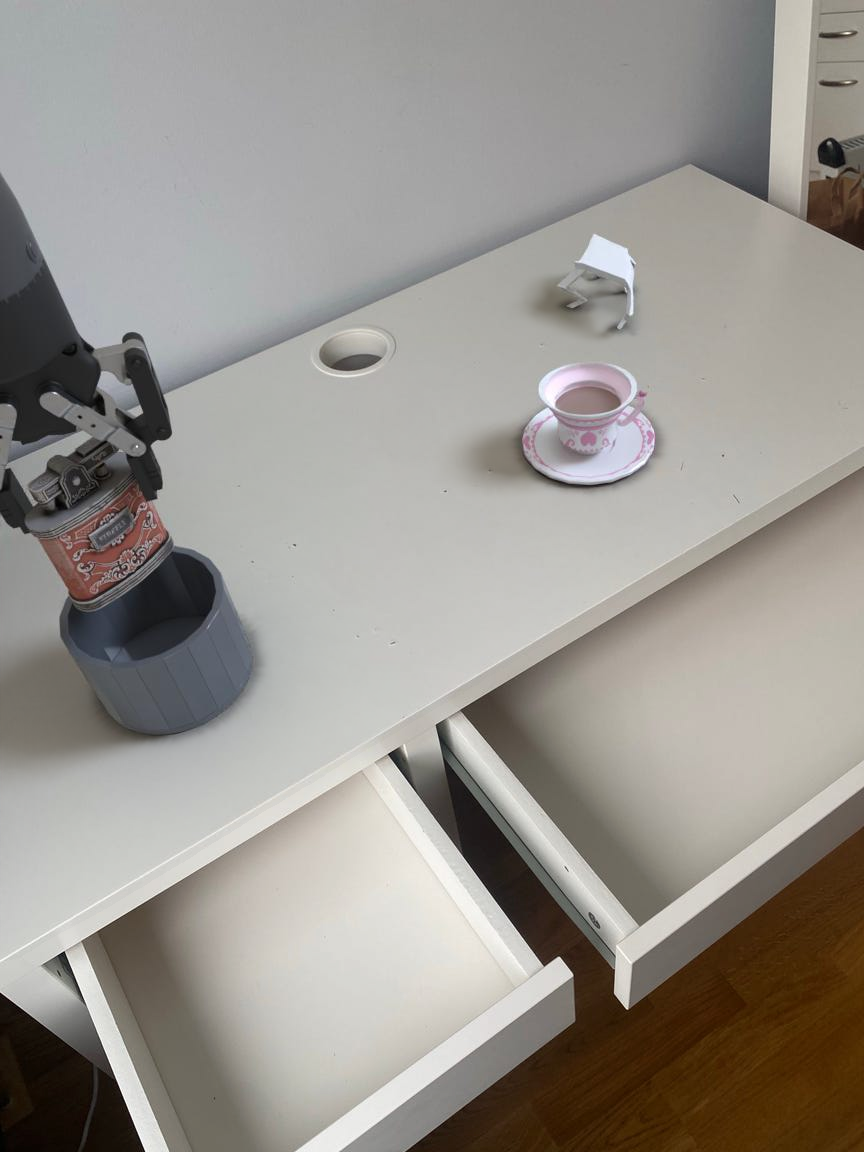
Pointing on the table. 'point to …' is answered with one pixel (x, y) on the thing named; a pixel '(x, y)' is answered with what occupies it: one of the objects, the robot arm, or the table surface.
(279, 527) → the table surface
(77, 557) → the lighter
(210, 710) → the blue-grey round bin
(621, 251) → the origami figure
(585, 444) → the teacup
